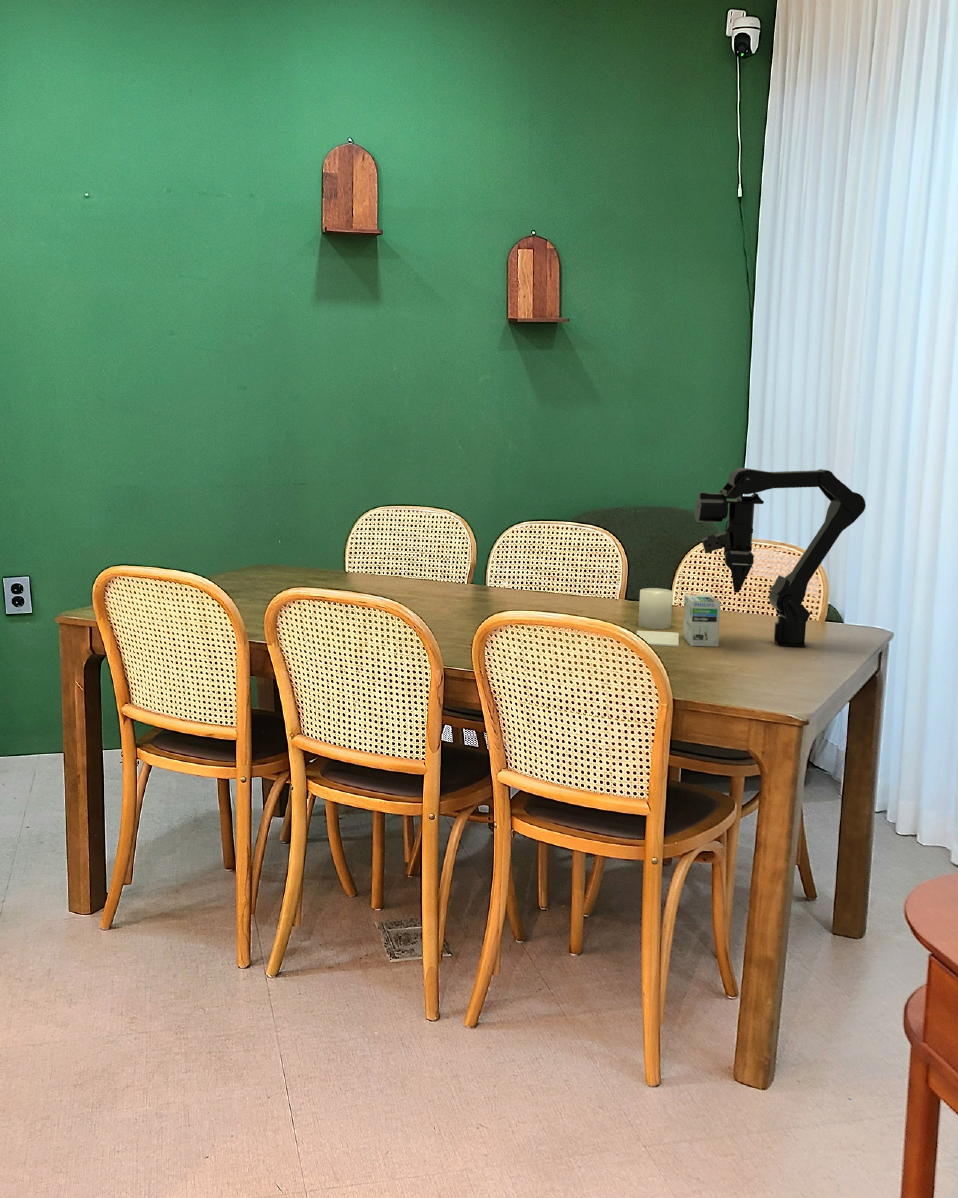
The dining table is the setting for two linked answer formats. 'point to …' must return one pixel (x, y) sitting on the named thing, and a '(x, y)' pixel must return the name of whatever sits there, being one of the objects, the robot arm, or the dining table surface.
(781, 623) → the robot arm
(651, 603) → the cream rounded cylinder
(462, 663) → the dining table surface
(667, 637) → the mat
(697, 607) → the light bulb box
